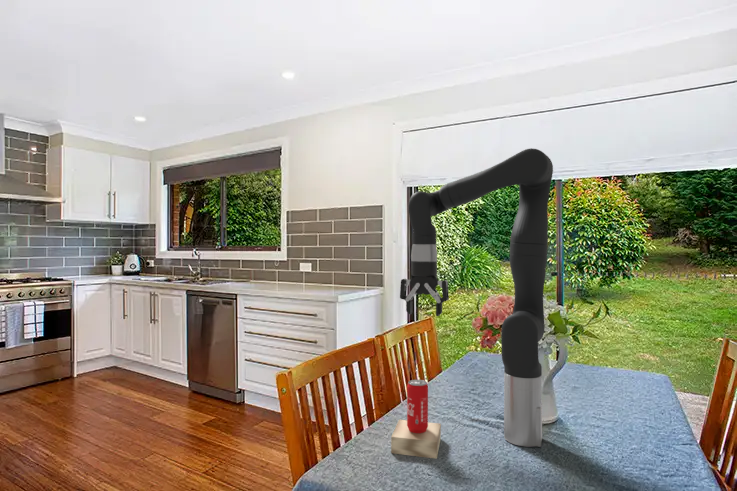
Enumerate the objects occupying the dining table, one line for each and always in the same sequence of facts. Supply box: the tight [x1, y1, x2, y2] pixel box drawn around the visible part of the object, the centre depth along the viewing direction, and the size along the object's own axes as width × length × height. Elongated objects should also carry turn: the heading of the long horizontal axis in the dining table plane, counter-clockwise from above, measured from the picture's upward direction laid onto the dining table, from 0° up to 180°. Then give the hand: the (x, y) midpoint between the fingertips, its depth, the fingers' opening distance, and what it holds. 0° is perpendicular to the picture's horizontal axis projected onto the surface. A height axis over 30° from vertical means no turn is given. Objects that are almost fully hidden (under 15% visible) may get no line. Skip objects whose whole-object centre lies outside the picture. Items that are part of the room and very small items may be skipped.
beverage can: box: [406, 379, 429, 434], centre depth 111 cm, size 5×5×12 cm
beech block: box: [390, 419, 442, 460], centre depth 111 cm, size 11×11×4 cm
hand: (423, 314), depth 130 cm, fingers open, 8 cm apart
